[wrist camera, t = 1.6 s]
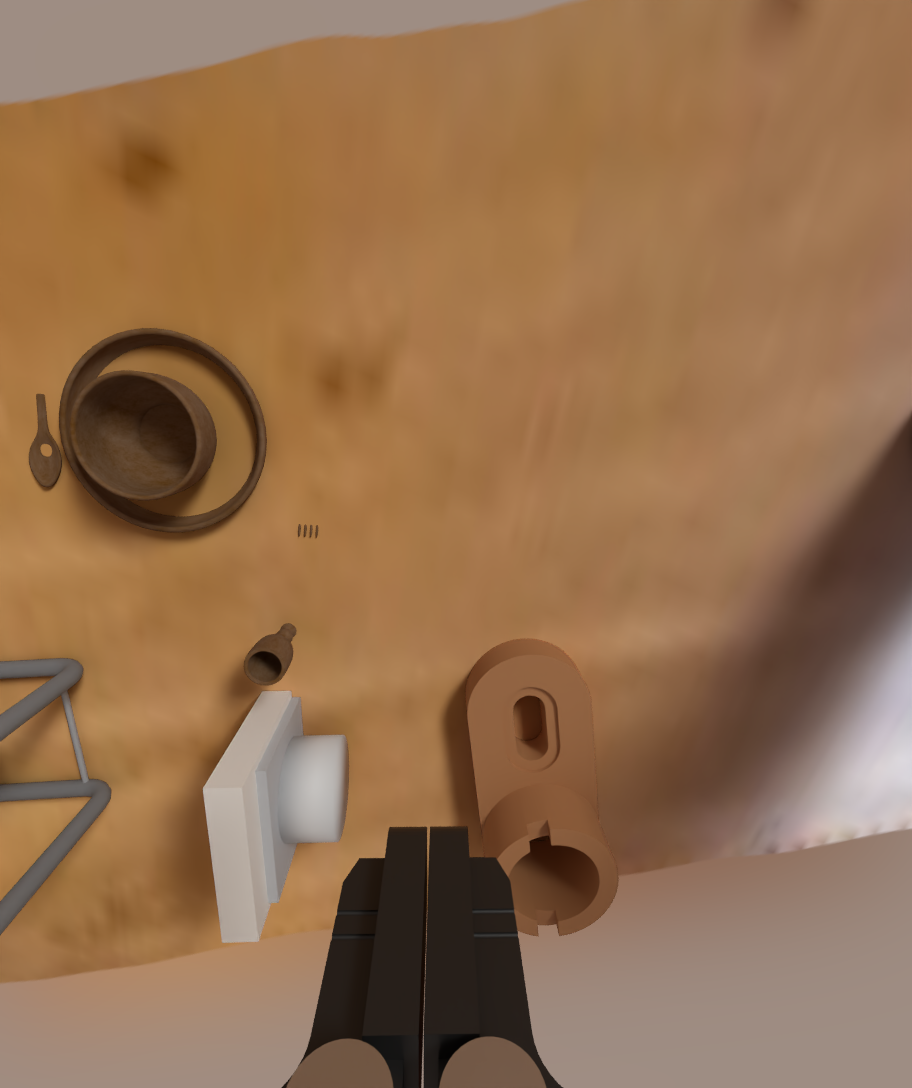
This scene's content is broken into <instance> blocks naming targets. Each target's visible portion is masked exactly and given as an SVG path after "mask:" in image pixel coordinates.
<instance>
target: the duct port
mask: <svg viewBox="0 0 912 1088" xmlns="http://www.w3.org/2000/svg"><path fill="white" fill-rule="evenodd" d="M348 787H349V753H348V744H347V739H346V737H345V735H311V736H303V725H302V711H301V697H292V694H291V691H262V692H261V694H260V696H259V697H258V699H257V701H256V702H255V704H254V706H253V707H252V709H251V710H250V712H249V714H248V715H247V717H246V719H245V720H244V722H243V724H242V725H241V727H240V728H239V730H238V732H237V733H236V735H235V737H234V738H233V740H232V742H231V743H230V745H229V746H228V748H227V750H226V751H225V753H224V755H223V756H222V758H221V759H220V761H219V763H218V764H217V766H216V768H215V769H214V771H213V773H212V774H211V776H210V777H209V779H208V781H207V782H206V784H205V786H204V787H203V795H204V803H205V811H206V819H207V826H208V834H209V842H210V850H211V858H212V866H213V874H214V882H215V889H216V897H217V905H218V913H219V921H220V929H221V937H222V943H230V942H258V941H259V938H260V935H261V932H262V929H263V926H264V923H265V920H266V917H267V914H268V911H269V908H270V905H271V903H279V899H280V896H281V893H282V890H283V887H284V884H285V880H286V877H287V874H288V871H289V868H290V865H291V862H292V858H293V855H294V852H295V849H296V846H297V843H318V842H338V841H339V840H340V838H341V836H342V832H343V828H344V823H345V817H346V810H347V800H348Z"/></svg>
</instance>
